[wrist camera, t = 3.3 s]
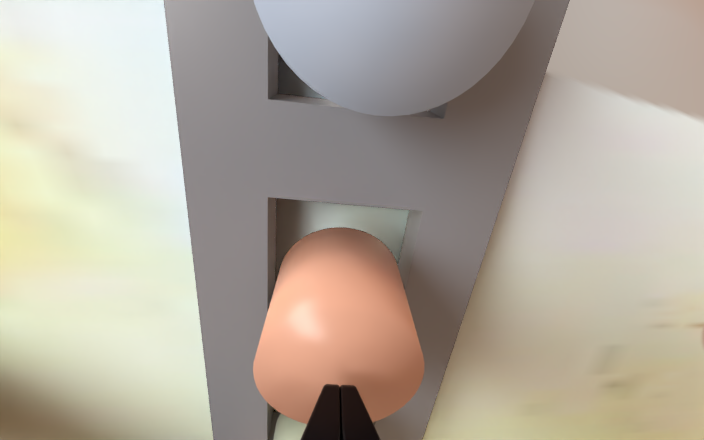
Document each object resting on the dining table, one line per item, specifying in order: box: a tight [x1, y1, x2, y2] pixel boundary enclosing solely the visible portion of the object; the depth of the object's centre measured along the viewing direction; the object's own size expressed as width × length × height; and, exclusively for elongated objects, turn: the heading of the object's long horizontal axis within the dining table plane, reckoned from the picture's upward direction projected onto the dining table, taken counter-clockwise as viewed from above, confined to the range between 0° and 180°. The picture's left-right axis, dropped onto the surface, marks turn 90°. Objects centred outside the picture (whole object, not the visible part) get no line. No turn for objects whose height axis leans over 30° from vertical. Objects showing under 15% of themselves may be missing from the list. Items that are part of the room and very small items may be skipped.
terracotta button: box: [253, 228, 424, 424], centre depth 11 cm, size 5×5×4 cm
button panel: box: [164, 0, 570, 440], centre depth 15 cm, size 29×12×2 cm, turn 174°
